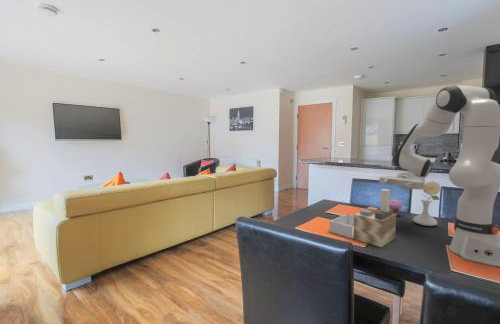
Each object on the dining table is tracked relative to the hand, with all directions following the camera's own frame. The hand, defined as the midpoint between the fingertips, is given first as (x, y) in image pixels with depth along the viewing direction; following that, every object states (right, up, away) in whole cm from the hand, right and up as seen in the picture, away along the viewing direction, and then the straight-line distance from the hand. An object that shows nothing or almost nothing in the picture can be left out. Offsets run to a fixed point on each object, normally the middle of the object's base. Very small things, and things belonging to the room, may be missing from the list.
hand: (395, 183), depth 126 cm
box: (-20, -25, +7) cm, 33 cm away
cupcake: (+18, -23, +35) cm, 45 cm away
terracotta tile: (-11, -14, +1) cm, 18 cm away
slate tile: (-16, -14, -4) cm, 22 cm away
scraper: (-9, -14, -7) cm, 18 cm away
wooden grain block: (-12, -26, -2) cm, 29 cm away
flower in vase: (+27, -25, +17) cm, 40 cm away
